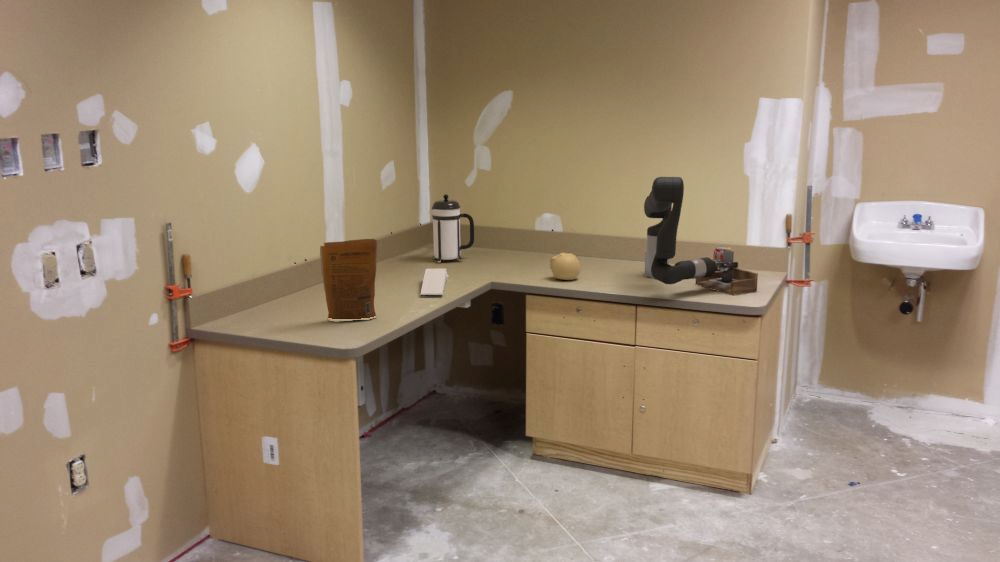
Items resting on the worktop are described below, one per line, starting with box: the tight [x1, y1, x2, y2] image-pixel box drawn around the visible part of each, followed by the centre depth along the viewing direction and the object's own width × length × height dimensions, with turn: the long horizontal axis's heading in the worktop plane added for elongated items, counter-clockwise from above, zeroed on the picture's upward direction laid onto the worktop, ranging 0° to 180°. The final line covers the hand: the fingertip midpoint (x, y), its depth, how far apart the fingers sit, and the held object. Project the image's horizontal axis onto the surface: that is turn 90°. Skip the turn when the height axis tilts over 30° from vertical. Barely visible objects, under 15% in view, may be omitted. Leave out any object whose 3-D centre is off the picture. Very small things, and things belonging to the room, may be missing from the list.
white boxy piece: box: [420, 268, 449, 296], centre depth 346 cm, size 10×7×28 cm
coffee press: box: [428, 193, 475, 262], centre depth 398 cm, size 17×16×30 cm
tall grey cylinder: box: [722, 247, 735, 283], centre depth 342 cm, size 4×4×14 cm
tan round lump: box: [549, 252, 581, 281], centre depth 361 cm, size 11×12×11 cm
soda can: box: [712, 246, 730, 261], centre depth 362 cm, size 7×7×12 cm
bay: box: [695, 267, 759, 296], centre depth 343 cm, size 21×12×7 cm, turn 29°
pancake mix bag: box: [319, 238, 378, 319], centre depth 299 cm, size 7×19×28 cm, turn 101°
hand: (733, 263), depth 344 cm, fingers closed on tall grey cylinder, 4 cm apart
